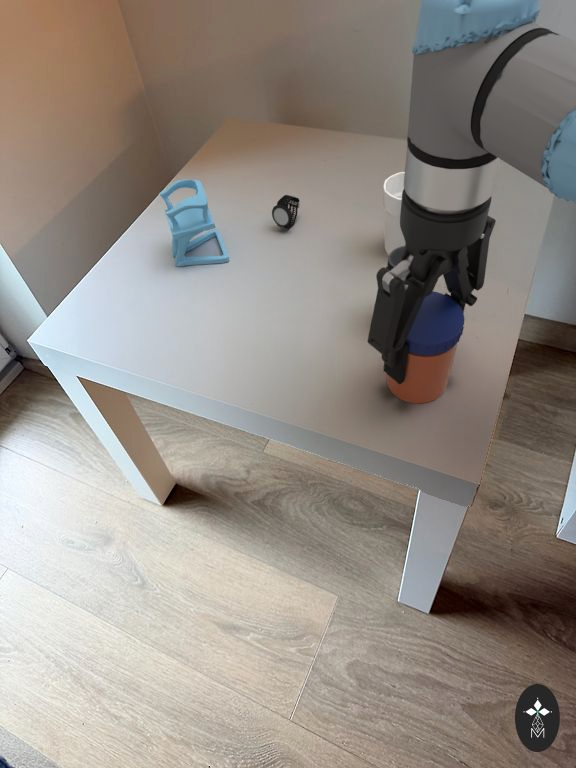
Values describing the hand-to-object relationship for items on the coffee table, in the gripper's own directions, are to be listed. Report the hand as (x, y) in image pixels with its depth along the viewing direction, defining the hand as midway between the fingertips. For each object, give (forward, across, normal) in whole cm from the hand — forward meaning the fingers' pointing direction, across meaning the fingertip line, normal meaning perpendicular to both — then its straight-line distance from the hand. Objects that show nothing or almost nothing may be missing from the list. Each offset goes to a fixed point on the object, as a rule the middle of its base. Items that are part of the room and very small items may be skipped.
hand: (420, 356), depth 64 cm
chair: (+5, +8, -40) cm, 41 cm away
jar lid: (-7, 0, 0) cm, 7 cm away
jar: (+4, 0, 0) cm, 4 cm away
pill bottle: (+5, -6, -8) cm, 11 cm away
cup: (+5, -16, -19) cm, 25 cm away
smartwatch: (+5, -7, -36) cm, 37 cm away
